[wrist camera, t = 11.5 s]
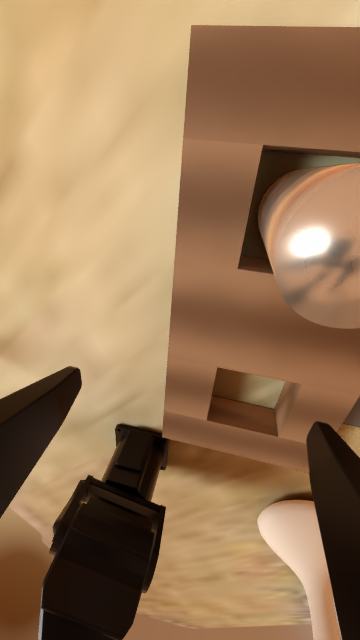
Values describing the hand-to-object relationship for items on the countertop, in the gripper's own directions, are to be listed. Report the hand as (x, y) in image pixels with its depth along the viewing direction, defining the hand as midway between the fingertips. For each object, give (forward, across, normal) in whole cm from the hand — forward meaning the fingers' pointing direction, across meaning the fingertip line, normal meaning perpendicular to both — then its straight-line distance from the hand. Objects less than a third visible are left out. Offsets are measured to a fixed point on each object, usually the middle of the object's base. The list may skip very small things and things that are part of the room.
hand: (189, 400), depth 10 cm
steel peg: (+11, -4, -6) cm, 13 cm away
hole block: (+12, -4, +1) cm, 12 cm away
